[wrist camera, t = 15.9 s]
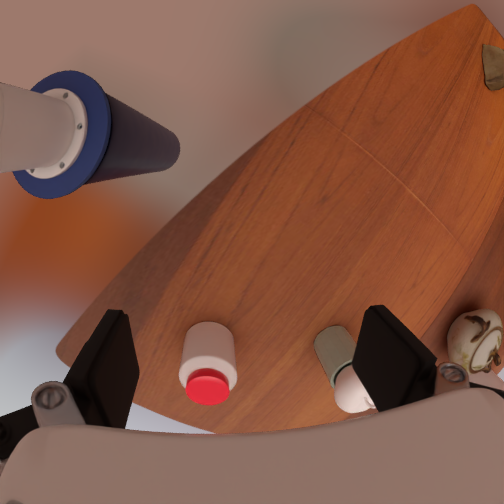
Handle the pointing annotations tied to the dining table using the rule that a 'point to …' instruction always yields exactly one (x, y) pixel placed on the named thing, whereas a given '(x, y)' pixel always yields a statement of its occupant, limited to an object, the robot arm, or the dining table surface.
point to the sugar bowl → (475, 340)
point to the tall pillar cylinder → (487, 379)
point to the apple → (351, 392)
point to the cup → (334, 351)
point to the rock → (493, 66)
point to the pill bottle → (208, 363)
